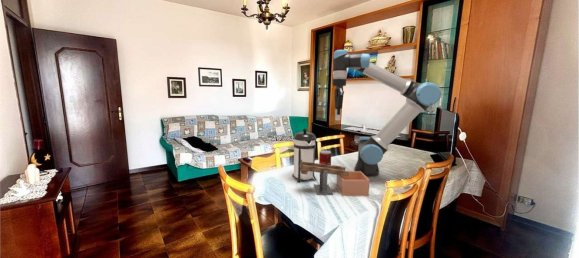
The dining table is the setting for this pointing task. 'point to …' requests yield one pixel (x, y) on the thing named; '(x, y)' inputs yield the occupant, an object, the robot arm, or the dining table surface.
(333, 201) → the dining table surface
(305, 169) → the tipping chute
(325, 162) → the canned food
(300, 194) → the dining table surface
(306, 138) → the coffee press
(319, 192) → the chute stand
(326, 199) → the dining table surface
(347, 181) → the brown cardboard box
